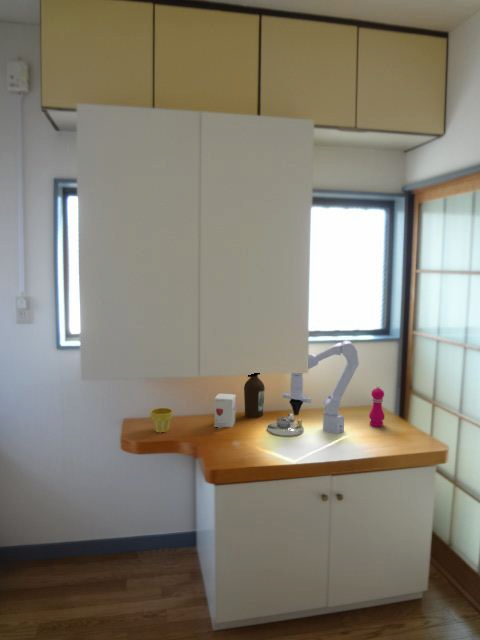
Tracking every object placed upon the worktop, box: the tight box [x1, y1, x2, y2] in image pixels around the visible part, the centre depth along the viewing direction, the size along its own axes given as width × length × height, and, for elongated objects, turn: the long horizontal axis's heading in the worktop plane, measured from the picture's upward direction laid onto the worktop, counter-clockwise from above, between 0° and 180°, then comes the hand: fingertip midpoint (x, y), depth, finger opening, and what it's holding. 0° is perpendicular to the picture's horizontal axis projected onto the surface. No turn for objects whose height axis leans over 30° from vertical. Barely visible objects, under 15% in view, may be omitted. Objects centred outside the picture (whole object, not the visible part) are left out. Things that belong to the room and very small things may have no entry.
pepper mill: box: [368, 385, 385, 428], centre depth 229 cm, size 7×7×20 cm
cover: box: [276, 416, 291, 428], centre depth 221 cm, size 6×6×4 cm
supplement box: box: [213, 393, 237, 429], centre depth 226 cm, size 9×9×15 cm
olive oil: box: [243, 374, 266, 419], centre depth 239 cm, size 11×11×25 cm
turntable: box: [267, 418, 305, 438], centre depth 219 cm, size 17×17×4 cm
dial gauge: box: [286, 413, 295, 423], centre depth 230 cm, size 4×6×5 cm, turn 136°
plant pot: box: [150, 407, 174, 433], centre depth 219 cm, size 10×10×10 cm
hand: (296, 414), depth 222 cm, fingers closed
